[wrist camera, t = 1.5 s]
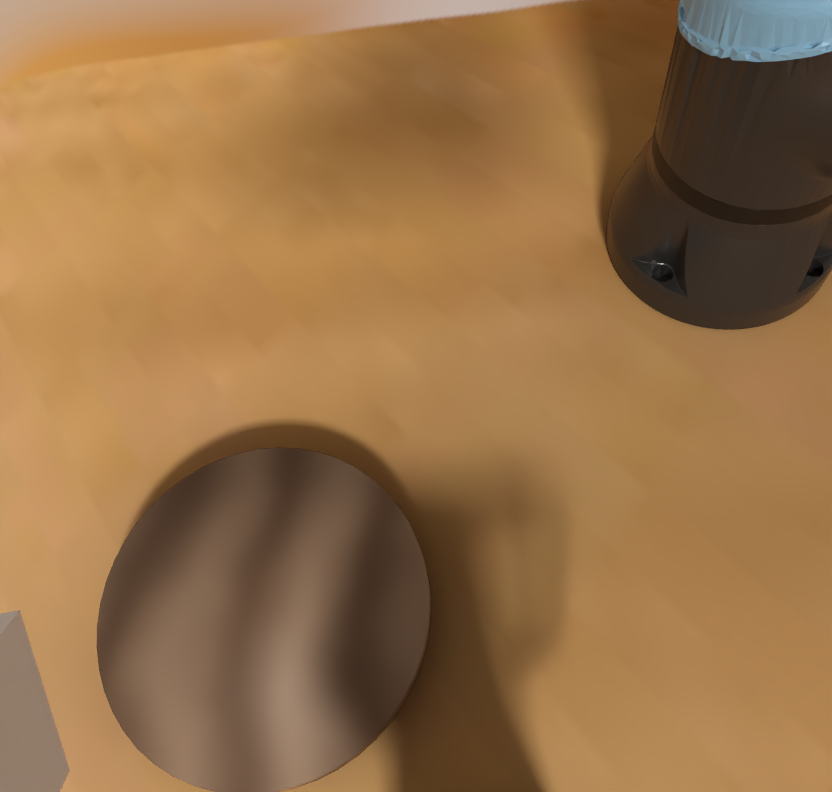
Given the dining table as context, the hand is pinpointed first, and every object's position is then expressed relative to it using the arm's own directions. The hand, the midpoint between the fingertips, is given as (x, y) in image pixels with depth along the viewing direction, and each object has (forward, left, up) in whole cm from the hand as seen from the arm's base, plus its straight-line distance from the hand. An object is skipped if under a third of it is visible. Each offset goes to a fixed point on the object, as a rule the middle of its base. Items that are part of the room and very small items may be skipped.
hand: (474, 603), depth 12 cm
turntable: (+13, -6, -32) cm, 35 cm away
